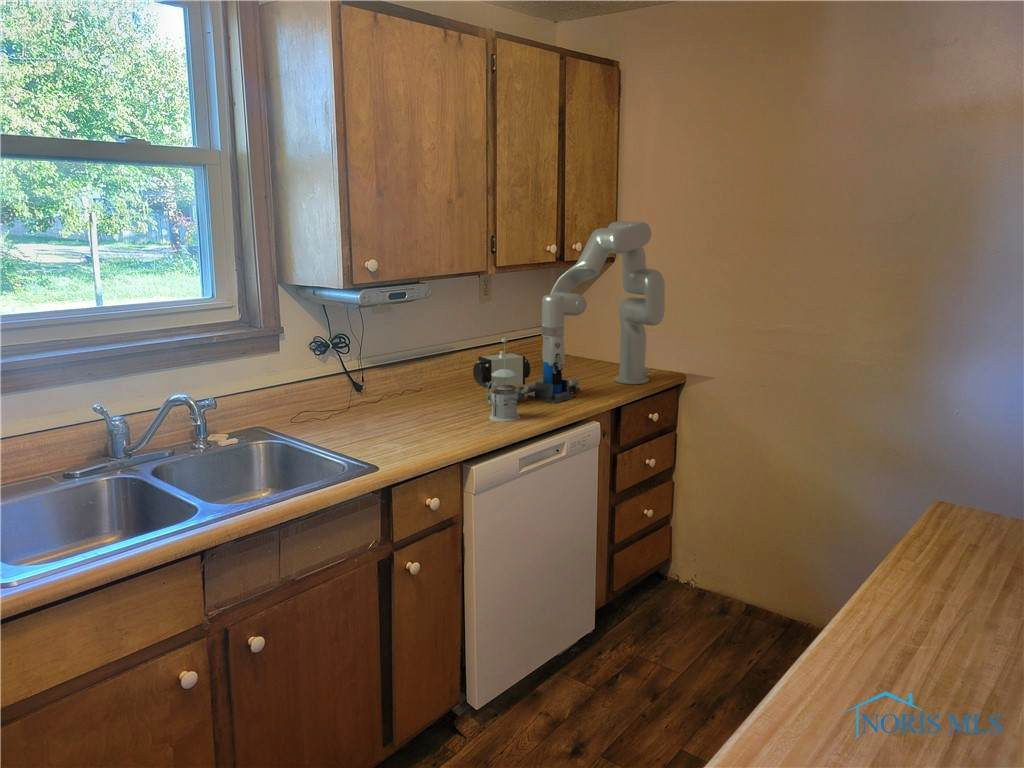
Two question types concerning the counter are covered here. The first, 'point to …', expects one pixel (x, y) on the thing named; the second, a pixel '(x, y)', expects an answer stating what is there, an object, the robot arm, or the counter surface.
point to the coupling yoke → (548, 391)
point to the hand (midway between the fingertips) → (552, 381)
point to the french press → (503, 396)
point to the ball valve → (495, 363)
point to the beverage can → (550, 377)
